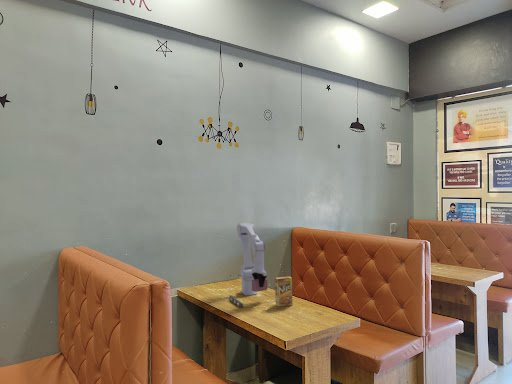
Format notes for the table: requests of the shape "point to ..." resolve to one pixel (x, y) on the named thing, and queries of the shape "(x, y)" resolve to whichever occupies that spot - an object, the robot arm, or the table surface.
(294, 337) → the table surface
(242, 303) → the price rail
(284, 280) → the candy box
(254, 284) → the carton
